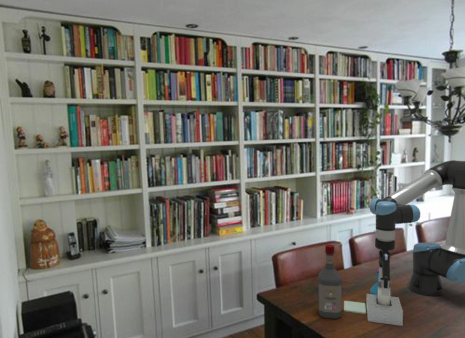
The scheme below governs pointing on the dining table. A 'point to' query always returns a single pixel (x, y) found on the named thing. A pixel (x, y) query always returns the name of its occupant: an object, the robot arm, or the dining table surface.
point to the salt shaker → (382, 298)
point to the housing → (384, 311)
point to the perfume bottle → (376, 286)
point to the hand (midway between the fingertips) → (383, 288)
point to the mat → (354, 307)
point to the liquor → (329, 288)
